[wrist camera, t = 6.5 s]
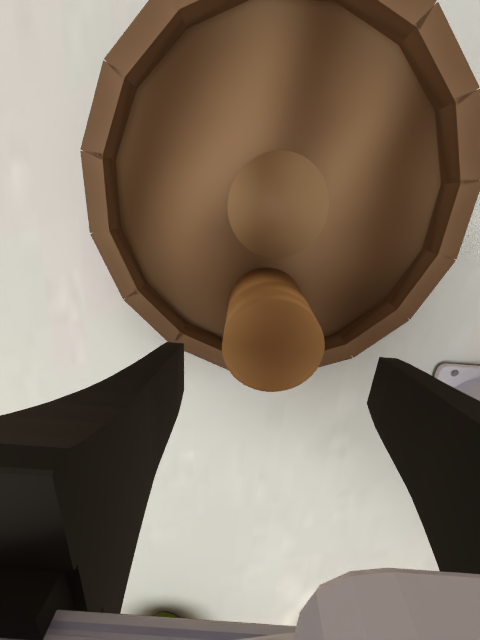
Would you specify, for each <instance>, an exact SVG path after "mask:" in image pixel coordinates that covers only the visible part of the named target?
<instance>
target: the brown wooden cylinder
mask: <svg viewBox="0 0 480 640" xmlns="http://www.w3.org/2000/svg"><path fill="white" fill-rule="evenodd" d="M324 348H325V341H324V335H323V332H322V329H321V327H320V325H319V323H318V321H317V319H316V318H315V316H314V314H313V312H312V310H311V309H310V307H309V305H308V303H307V301H306V300H305V298H304V296H303V294H302V292H301V291H300V289H299V287H298V285H297V284H296V282H295V281H294V280H293V279H292V277H290V276H289V275H288V274H287V273H285V272H283V271H281V270H278V269H275V268H258V269H254V270H251V271H249V272H247V273H246V274H244V275H243V276H242V277H241V278H240V279H238V281H237V282H236V283H235V285H234V286H233V288H232V291H231V294H230V299H229V305H228V311H227V317H226V323H225V329H224V334H223V341H222V354H223V358H224V362H225V364H226V366H227V368H228V369H229V371H230V372H231V374H232V375H233V376H234V377H235V378H236V379H237V380H238V381H240V382H241V383H243V384H244V385H246V386H248V387H250V388H253V389H256V390H260V391H267V392H276V391H283V390H287V389H291V388H293V387H296V386H298V385H300V384H301V383H303V382H304V381H306V380H307V379H308V378H309V377H310V376H311V375H313V373H314V372H315V371H316V370H317V368H318V366H319V365H320V363H321V360H322V358H323V354H324Z"/></svg>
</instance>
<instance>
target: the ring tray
mask: <svg viewBox="0 0 480 640" xmlns="http://www.w3.org/2000/svg"><path fill="white" fill-rule="evenodd" d="M436 1H437V0H149V1H148V2H147V4H146V5H145V6H144V7H143V9H142V10H141V11H140V13H139V14H138V15H137V17H136V18H135V19H134V21H133V22H132V23H131V24H130V26H129V27H128V28H127V30H126V31H125V32H124V34H123V35H122V36H121V37H120V39H119V40H118V41H117V43H116V44H115V45H114V47H113V48H112V49H111V51H110V52H109V53H108V54H107V56H106V57H105V58H104V59H105V60H106V62H105V61H103V64H102V68H101V72H100V75H99V79H98V83H97V87H96V91H95V95H94V99H93V103H92V107H91V111H90V114H89V118H88V122H87V126H86V130H85V134H84V138H83V142H82V146H81V150H83V151H80V152H81V160H82V169H83V177H84V186H85V195H86V203H87V212H88V220H89V229H90V233H92V234H91V236H92V238H93V240H94V242H95V244H96V246H97V248H98V250H99V252H100V254H101V256H102V258H103V260H104V262H105V264H106V266H107V268H108V270H109V272H110V274H111V276H112V278H113V280H114V282H115V284H116V286H117V288H118V290H119V292H120V294H121V296H122V298H123V299H124V298H125V299H124V301H125V302H127V303H128V304H129V305H130V306H131V307H132V308H133V309H134V310H135V311H136V312H137V313H138V314H139V315H140V316H141V317H142V318H143V319H145V320H146V321H147V322H148V323H149V324H150V325H151V326H152V327H153V328H154V329H155V330H156V331H157V332H158V333H159V334H160V335H161V336H163V337H164V338H165V339H166V340H167V341H168V342H174V343H184V351H186V352H188V353H191V354H193V355H195V356H197V357H200V358H202V359H204V360H207V361H209V362H211V363H213V364H216V365H218V366H220V367H223V368H225V369H227V370H229V369H228V368H227V366H226V364H225V362H224V358H223V354H222V341H223V334H224V329H225V323H226V317H227V311H228V305H229V299H230V294H231V291H232V288H233V286H234V285H235V283H236V282H237V281H238V279H240V278H241V277H242V276H243V275H244V274H246V273H247V272H249V271H251V270H254V269H258V268H275V269H278V270H281V271H283V272H285V273H287V274H288V275H289V276H290V277H292V279H293V280H294V281H295V282H296V284H297V285H298V287H299V289H300V291H301V292H302V294H303V296H304V298H305V300H306V301H307V303H308V305H309V307H310V309H311V310H312V312H313V314H314V316H315V318H316V319H317V321H318V323H319V325H320V327H321V329H322V332H323V335H324V341H325V348H324V354H323V358H322V360H321V363H320V365H319V366H318V367H321V366H325V365H329V364H332V363H336V362H340V361H343V360H347V359H351V358H352V357H355V356H356V355H358V354H359V353H361V352H362V351H364V350H365V349H367V348H368V347H370V346H371V345H373V344H374V343H376V342H377V341H379V340H380V339H382V338H383V337H385V336H386V335H388V334H389V333H391V332H392V331H394V330H395V329H397V328H398V327H400V326H401V325H403V324H404V323H406V322H407V321H409V319H411V318H412V316H413V315H414V314H415V312H416V311H417V310H418V309H419V307H420V306H421V305H422V303H423V302H424V301H425V299H426V298H427V297H428V296H429V294H430V293H431V292H432V290H433V289H434V288H435V287H436V285H437V284H438V283H439V281H440V280H441V279H442V277H443V276H444V275H445V274H446V272H447V271H448V270H449V268H450V267H451V266H452V265H453V263H454V262H455V261H456V260H454V259H457V256H458V253H459V250H460V247H461V244H462V241H463V238H464V235H465V232H466V229H467V226H468V223H469V221H470V218H471V215H472V212H473V209H474V206H475V203H476V200H477V197H478V194H479V191H480V181H479V180H480V89H479V90H477V89H478V88H479V85H478V83H477V81H476V79H475V77H474V75H473V73H472V71H471V69H470V67H469V65H468V62H467V60H466V58H465V56H464V54H463V52H462V50H461V48H460V46H459V44H458V42H457V40H456V38H455V36H454V34H453V32H452V30H451V28H450V26H449V23H448V21H447V19H446V17H445V15H444V13H443V11H442V9H441V7H440V5H439V3H438V2H437V3H436V4H435V2H436ZM434 4H435V5H434ZM408 318H409V319H408Z"/></svg>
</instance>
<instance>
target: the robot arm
mask: <svg viewBox="0 0 480 640" xmlns="http://www.w3.org/2000/svg"><path fill="white" fill-rule="evenodd" d="M453 370H455V371H454V372H453V373H451V372H452V371H453ZM183 392H184V343H174V342H166V343H165V344H163V345H161V346H160V347H158V348H157V349H155V350H154V351H152V352H151V353H149V354H148V355H146V356H145V357H143V358H141V359H140V360H138V361H137V362H135V363H134V364H132V365H130V366H128V367H127V368H125V369H123V370H121V371H120V372H118V373H116V374H114V375H113V376H111V377H109V378H107V379H105V380H103V381H101V382H99V383H96V384H94V385H92V386H90V387H88V388H85V389H83V390H80V391H78V392H75V393H72V394H70V395H67V396H64V397H62V398H59V399H56V400H53V401H51V402H48V403H44V404H41V405H38V406H35V407H31V408H28V409H24V410H20V411H17V412H13V413H9V414H5V415H1V416H0V640H480V366H477V365H463V364H449V363H445V364H441V365H440V366H439V367H438V368H437V370H436V373H435V376H434V377H433V376H431V375H429V374H427V373H426V372H424V371H422V370H420V369H418V368H416V367H414V366H412V365H410V364H408V363H406V362H404V361H402V360H399V359H396V358H383V357H379V361H378V364H377V368H376V372H375V375H374V379H373V383H372V386H371V390H370V394H369V397H368V401H367V405H368V408H369V411H370V414H371V417H372V420H373V422H374V425H375V428H376V430H377V432H378V434H379V436H380V438H381V439H382V441H383V443H384V445H385V447H386V449H387V451H388V453H389V455H390V457H391V458H392V460H393V462H394V464H395V466H396V468H397V470H398V472H399V474H400V475H401V477H402V479H403V481H404V483H405V485H406V487H407V489H408V491H409V493H410V495H411V497H412V500H413V502H414V505H415V507H416V510H417V512H418V514H419V517H420V519H421V522H422V524H423V527H424V529H425V532H426V535H427V537H428V540H429V543H430V545H431V548H432V551H433V553H434V556H435V559H436V561H437V564H438V567H439V570H440V571H426V570H412V569H397V568H381V569H370V570H359V571H350V572H348V573H345V574H343V575H341V576H339V577H337V578H334V579H332V580H330V581H328V582H326V583H323V584H321V585H320V586H319V587H318V589H317V590H316V591H315V593H314V594H313V595H312V596H311V598H310V599H309V600H308V602H307V603H306V604H305V606H304V607H303V609H302V610H301V612H300V614H299V618H298V622H297V626H284V625H270V624H256V623H241V622H227V621H212V620H198V619H184V618H169V617H155V616H140V615H126V614H120V612H121V608H122V603H123V599H124V594H125V590H126V586H127V581H128V577H129V573H130V569H131V565H132V561H133V557H134V553H135V549H136V544H137V540H138V537H139V533H140V529H141V525H142V521H143V517H144V513H145V510H146V506H147V502H148V499H149V495H150V491H151V488H152V484H153V480H154V477H155V474H156V471H157V468H158V465H159V463H160V460H161V458H162V455H163V452H164V450H165V447H166V445H167V442H168V440H169V437H170V434H171V432H172V429H173V426H174V424H175V421H176V419H177V416H178V413H179V409H180V405H181V401H182V396H183Z"/></svg>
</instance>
